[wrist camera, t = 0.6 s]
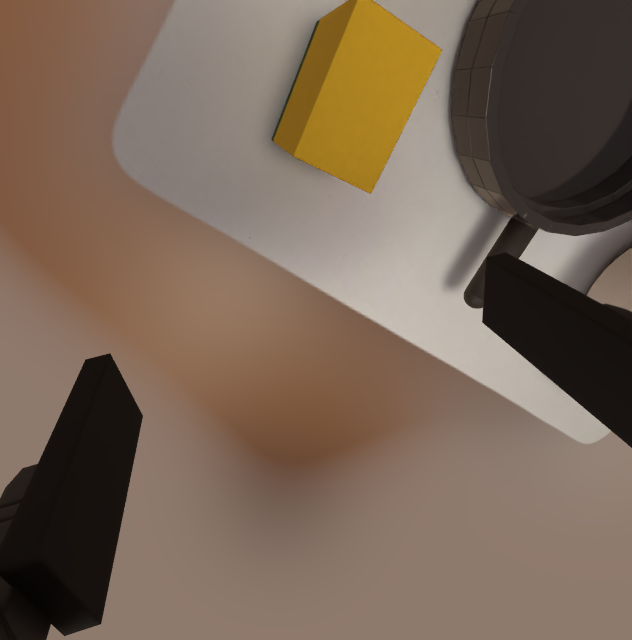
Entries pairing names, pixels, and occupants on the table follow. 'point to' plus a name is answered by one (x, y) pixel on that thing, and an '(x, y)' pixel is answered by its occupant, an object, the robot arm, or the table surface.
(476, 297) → the pan handle
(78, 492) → the robot arm
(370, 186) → the sponge
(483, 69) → the pan
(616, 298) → the bowl
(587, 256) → the table surface
